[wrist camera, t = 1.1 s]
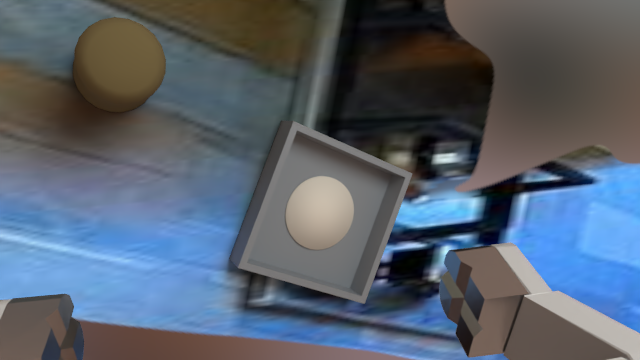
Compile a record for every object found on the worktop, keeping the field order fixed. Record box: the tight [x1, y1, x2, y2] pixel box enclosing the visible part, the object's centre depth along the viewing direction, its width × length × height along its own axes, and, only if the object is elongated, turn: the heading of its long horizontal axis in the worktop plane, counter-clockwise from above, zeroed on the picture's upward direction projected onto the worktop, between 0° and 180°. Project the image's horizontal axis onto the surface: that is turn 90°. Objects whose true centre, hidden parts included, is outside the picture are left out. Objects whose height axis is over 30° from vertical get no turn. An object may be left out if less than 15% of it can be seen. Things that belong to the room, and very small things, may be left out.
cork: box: [73, 17, 166, 112], centre depth 34 cm, size 6×6×11 cm
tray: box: [229, 121, 412, 304], centre depth 46 cm, size 13×13×3 cm
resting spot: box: [285, 176, 354, 250], centre depth 47 cm, size 7×7×1 cm
